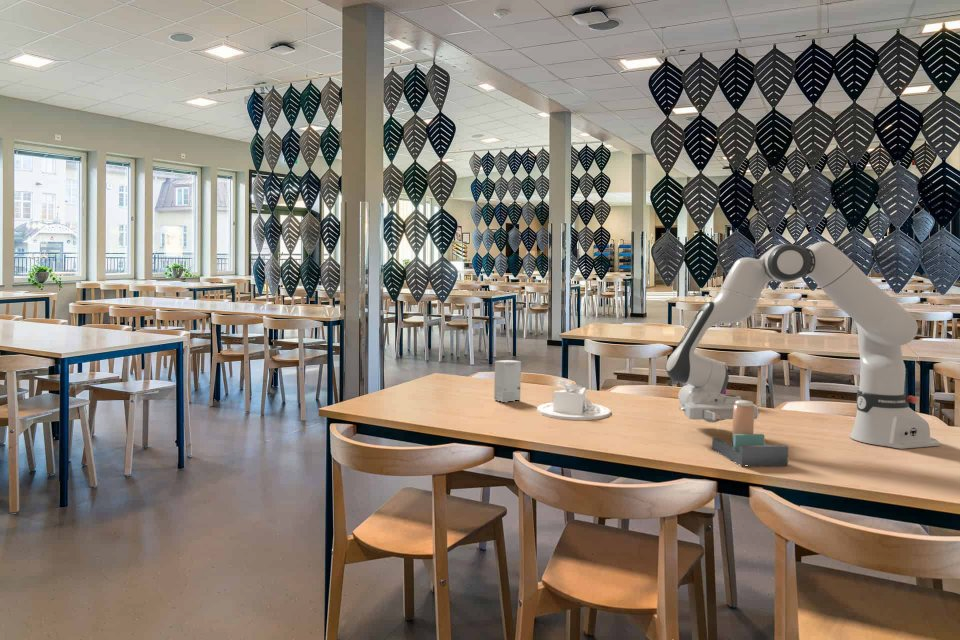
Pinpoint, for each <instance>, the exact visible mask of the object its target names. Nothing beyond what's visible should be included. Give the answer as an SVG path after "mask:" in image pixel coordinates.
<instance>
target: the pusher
mask: <svg viewBox="0 0 960 640" xmlns="http://www.w3.org/2000/svg"><path fill="white" fill-rule="evenodd" d="M764 443H765V434H764V433H753V434H734V435H733V447H735V448H736V449H738V450H739V447H740V446H747V445H764Z"/></svg>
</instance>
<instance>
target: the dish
mask: <svg viewBox="0 0 960 640" xmlns="http://www.w3.org/2000/svg"><path fill="white" fill-rule="evenodd" d="M558 383H559V385H560V387H562V388H563V389H560V390H553V391H552V392H553V393H552V402H546V403H542V404H540V405H537V407H536V409H537V410H536V412H537V413H538V414H539V413H540V414H539V415H541V416H543V415H544V416H545V417H547V416H548V417H547V418H552V419H559V420H565V419H566V420H567V421H591V420H592V419H595V420H600V419H601V418H602V419H605V418H608V417H609V416H611V413H612V412H611V409H610V408H608V407H606V406H604V405H600V404H596V403H593V402H592V401H591V399H588V398H587V397H586V396H587V395H586V394H587V392H586V391H587V390H586V389H587V387H582V386H581V385H580V384H576V383H568V384H567V382H566V381H565V380H562V379H559V380H558ZM566 420H565V421H566Z"/></svg>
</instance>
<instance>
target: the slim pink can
mask: <svg viewBox="0 0 960 640" xmlns="http://www.w3.org/2000/svg"><path fill="white" fill-rule="evenodd" d="M753 404H754V402H753V401H751V400H746V399H741V400H736V401H735V404H734V405H733V419H732V433H731V434H732V435H731V446H733V435H734V434H754V429H755V428H754V427H755V419H754V409H755V406H753Z"/></svg>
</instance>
